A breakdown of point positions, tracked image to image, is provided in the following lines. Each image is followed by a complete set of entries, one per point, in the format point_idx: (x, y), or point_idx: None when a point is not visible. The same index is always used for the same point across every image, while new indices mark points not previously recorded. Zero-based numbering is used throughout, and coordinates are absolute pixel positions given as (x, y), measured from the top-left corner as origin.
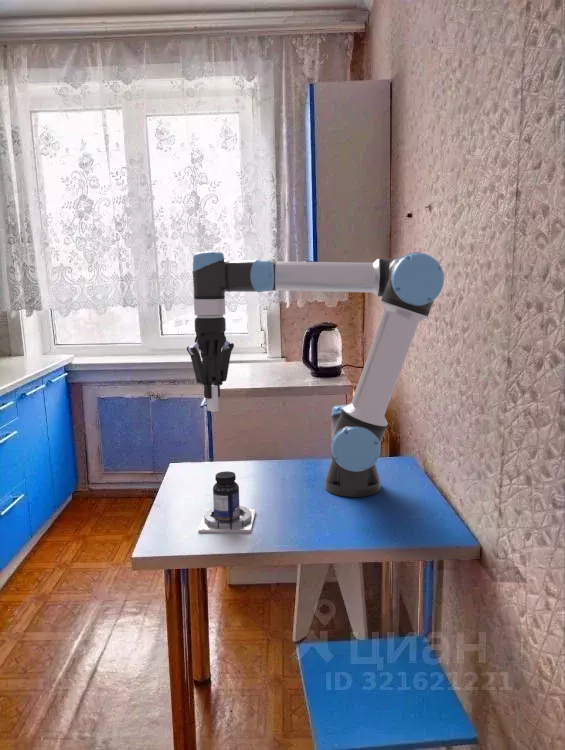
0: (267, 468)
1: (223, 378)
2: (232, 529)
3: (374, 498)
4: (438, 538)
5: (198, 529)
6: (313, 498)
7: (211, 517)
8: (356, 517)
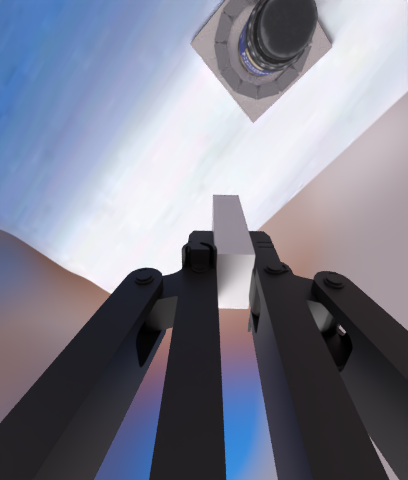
0: (48, 217)
1: (154, 281)
2: None
3: None
4: None
5: (331, 46)
6: (45, 7)
7: None
8: None
